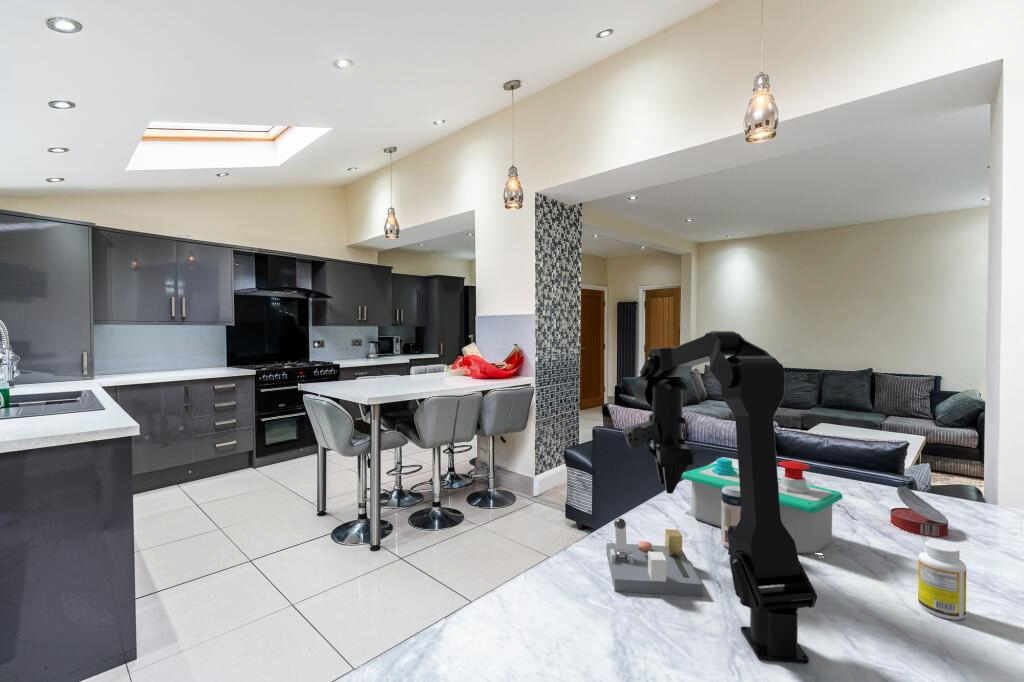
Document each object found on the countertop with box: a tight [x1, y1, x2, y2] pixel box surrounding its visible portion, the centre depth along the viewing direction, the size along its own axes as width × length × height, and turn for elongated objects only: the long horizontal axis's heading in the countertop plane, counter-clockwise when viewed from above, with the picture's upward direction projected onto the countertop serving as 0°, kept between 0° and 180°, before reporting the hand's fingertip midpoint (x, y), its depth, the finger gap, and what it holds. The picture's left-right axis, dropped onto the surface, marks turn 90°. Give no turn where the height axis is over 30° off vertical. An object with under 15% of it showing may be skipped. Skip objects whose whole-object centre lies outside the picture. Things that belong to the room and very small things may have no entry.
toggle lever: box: [613, 517, 628, 560], centre depth 87 cm, size 2×2×7 cm
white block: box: [648, 551, 666, 582], centre depth 79 cm, size 3×2×4 cm
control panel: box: [681, 457, 843, 560], centre depth 106 cm, size 15×16×30 cm
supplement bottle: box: [917, 540, 967, 621], centre depth 74 cm, size 6×6×10 cm
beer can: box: [720, 485, 742, 550], centre depth 96 cm, size 5×5×12 cm
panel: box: [606, 540, 703, 597], centre depth 85 cm, size 14×14×3 cm
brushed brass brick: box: [664, 529, 683, 556], centre depth 89 cm, size 3×2×4 cm
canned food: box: [890, 485, 949, 538], centre depth 107 cm, size 11×10×10 cm
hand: (666, 488), depth 95 cm, fingers open, 5 cm apart
